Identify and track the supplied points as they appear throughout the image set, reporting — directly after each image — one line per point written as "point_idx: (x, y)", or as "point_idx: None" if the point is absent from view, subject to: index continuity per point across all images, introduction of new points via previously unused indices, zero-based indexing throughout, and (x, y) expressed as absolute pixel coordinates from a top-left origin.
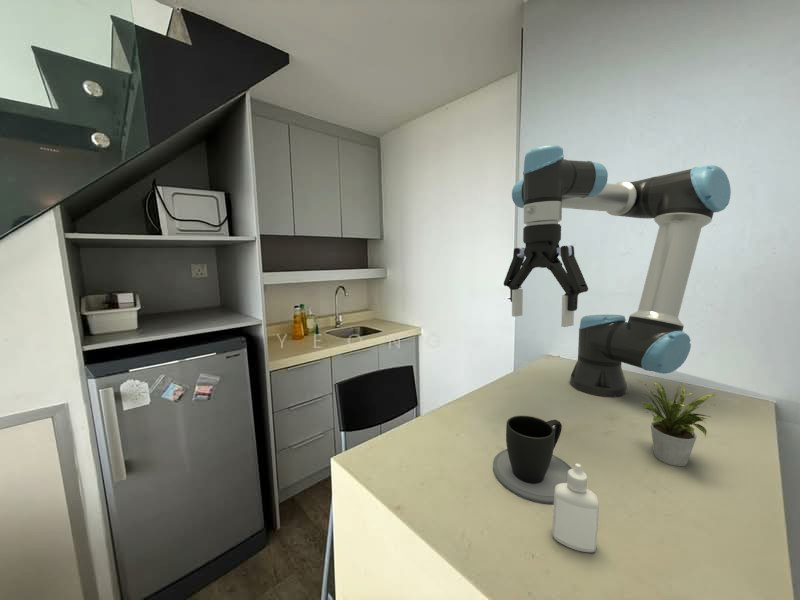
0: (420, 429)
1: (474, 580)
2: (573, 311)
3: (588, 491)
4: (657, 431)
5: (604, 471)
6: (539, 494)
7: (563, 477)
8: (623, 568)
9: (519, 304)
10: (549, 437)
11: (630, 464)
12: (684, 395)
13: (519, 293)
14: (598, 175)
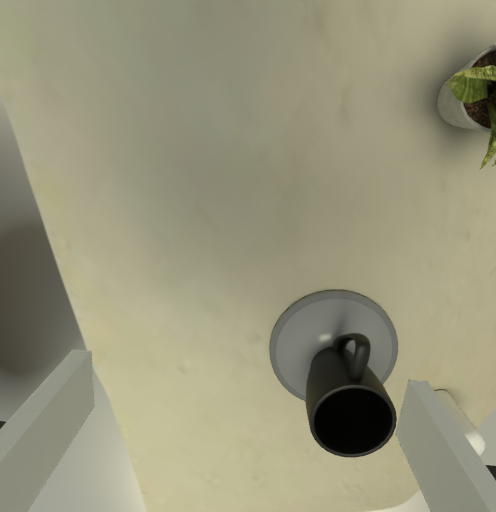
0: (134, 410)
1: (388, 506)
2: (464, 440)
3: (475, 448)
4: (478, 129)
5: (398, 250)
6: None
7: (371, 332)
8: (478, 393)
9: (56, 420)
10: (395, 423)
11: (419, 190)
12: None
13: (3, 493)
14: None
